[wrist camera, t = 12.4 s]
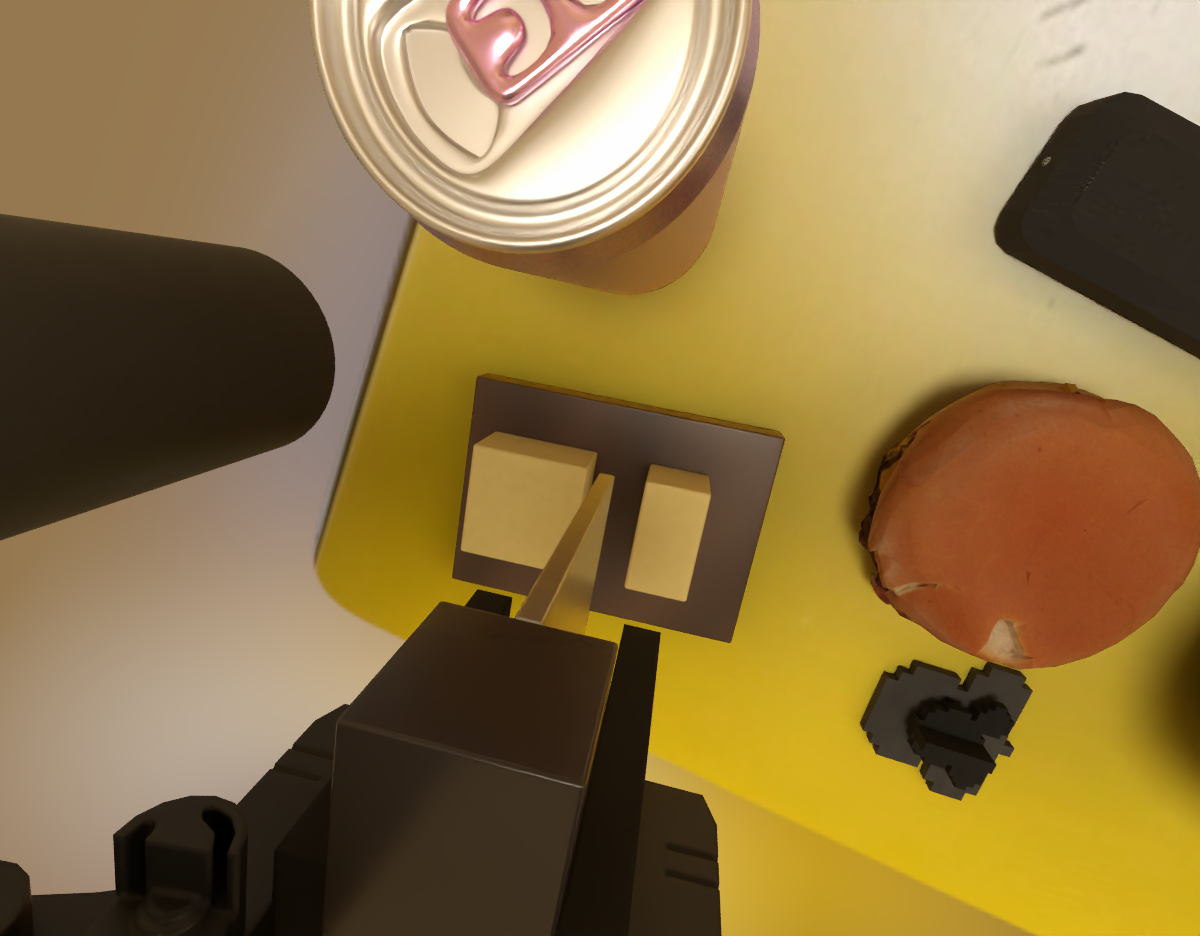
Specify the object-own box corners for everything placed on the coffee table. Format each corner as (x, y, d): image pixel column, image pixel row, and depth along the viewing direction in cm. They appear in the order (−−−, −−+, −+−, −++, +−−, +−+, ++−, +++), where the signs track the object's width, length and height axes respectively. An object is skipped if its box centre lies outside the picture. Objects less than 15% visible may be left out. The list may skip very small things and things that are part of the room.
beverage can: (749, 231, 22) (866, 72, 7) (607, 326, 23) (467, 353, 9) (659, 75, 21) (587, -456, 6) (518, 184, 22) (201, -47, 8)
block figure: (922, 668, 22) (1079, 717, 22) (901, 635, 24) (1042, 679, 24) (859, 799, 24) (1004, 846, 23) (845, 756, 26) (977, 799, 26)
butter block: (482, 527, 24) (459, 551, 22) (495, 430, 23) (473, 444, 21) (580, 549, 24) (568, 576, 22) (598, 451, 23) (587, 468, 21)
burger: (1155, 364, 21) (1281, 380, 16) (1125, 617, 23) (1229, 692, 18) (846, 386, 22) (883, 406, 18) (845, 620, 25) (879, 690, 20)
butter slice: (630, 560, 24) (623, 588, 22) (650, 462, 23) (645, 480, 20) (686, 573, 24) (685, 603, 21) (709, 475, 23) (711, 494, 20)
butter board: (461, 567, 26) (451, 578, 25) (486, 372, 24) (476, 375, 23) (729, 629, 25) (730, 644, 24) (780, 431, 23) (785, 438, 22)
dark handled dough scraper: (560, 463, 15) (334, 719, 6) (655, 484, 15) (586, 785, 5) (520, 702, 17) (300, 1197, 8) (604, 724, 17) (487, 1262, 7)
